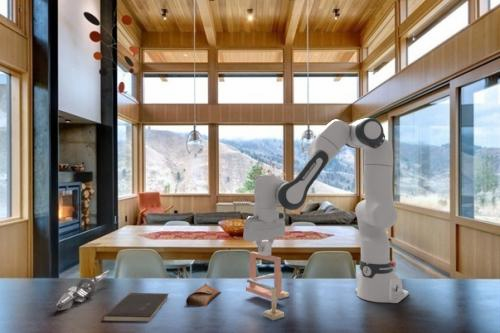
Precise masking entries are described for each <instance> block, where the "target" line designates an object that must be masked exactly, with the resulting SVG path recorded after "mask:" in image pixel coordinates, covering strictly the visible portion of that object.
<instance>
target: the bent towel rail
mask: <svg viewBox="0 0 500 333" xmlns="http://www.w3.org/2000/svg"><path fill="white" fill-rule="evenodd" d="M269 278H274V272H273V273H268V274H264V275H259V276H256V277H255V278H250V277H249V278H247V279H246V282H247V283H249V284H250V283H251V284H254V285H256V286H259V287H262V288H264V289H267V290H270V291H272V300H271V309H267V310H264V311H263V317H265V318H267V319H269V320H271V321H276V320H279V319H282V318H284V317H285V312H284V311H281V310H279V309H277V299H276V288H274V286H273V287H272V286H270V285H267V284H264V283H261V282H259V281H262V280H266V279H269ZM281 292H284V297H282V298H279V299H278V300H281V299H282V300H283V299H285V298H288V297H290V294H289V293H290V292H288V291H284V290H283V271H281Z"/></svg>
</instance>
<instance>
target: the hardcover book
mask: <svg viewBox="0 0 500 333" xmlns="http://www.w3.org/2000/svg"><path fill="white" fill-rule="evenodd" d="M168 298H169V293H162V292H161V293H158V292H155V293H153V292H151V293H149V292H148V293H147V292H144V293H143V292H130V293H128V294H127V295H126V296H124V298H123V299H121V300H120V301H119V302H118V303H116V304H115V305H114V306H112V308H111V309H110V310H109V311H107V312H105V314H103V316H102V321H114V322H115V321H117V322H118V321H120V322H125V321H126V322H150V320H151V319H152V318H154V316H155V314H156V313H157V312H158V310H159V309H160V308H161V307H162V306H163V304H164V303H165V302H166V301H167V299H168Z"/></svg>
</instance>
